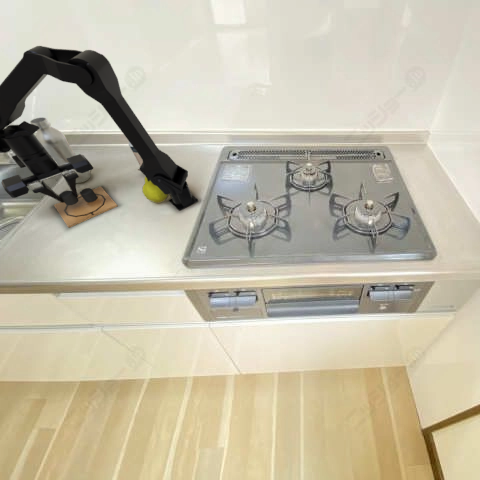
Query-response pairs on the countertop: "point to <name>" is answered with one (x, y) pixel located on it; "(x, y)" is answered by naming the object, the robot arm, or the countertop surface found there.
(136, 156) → the beer can
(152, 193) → the fruit
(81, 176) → the plastic bottle
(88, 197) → the eye dot right
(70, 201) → the eye dot left
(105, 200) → the board
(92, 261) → the countertop surface
